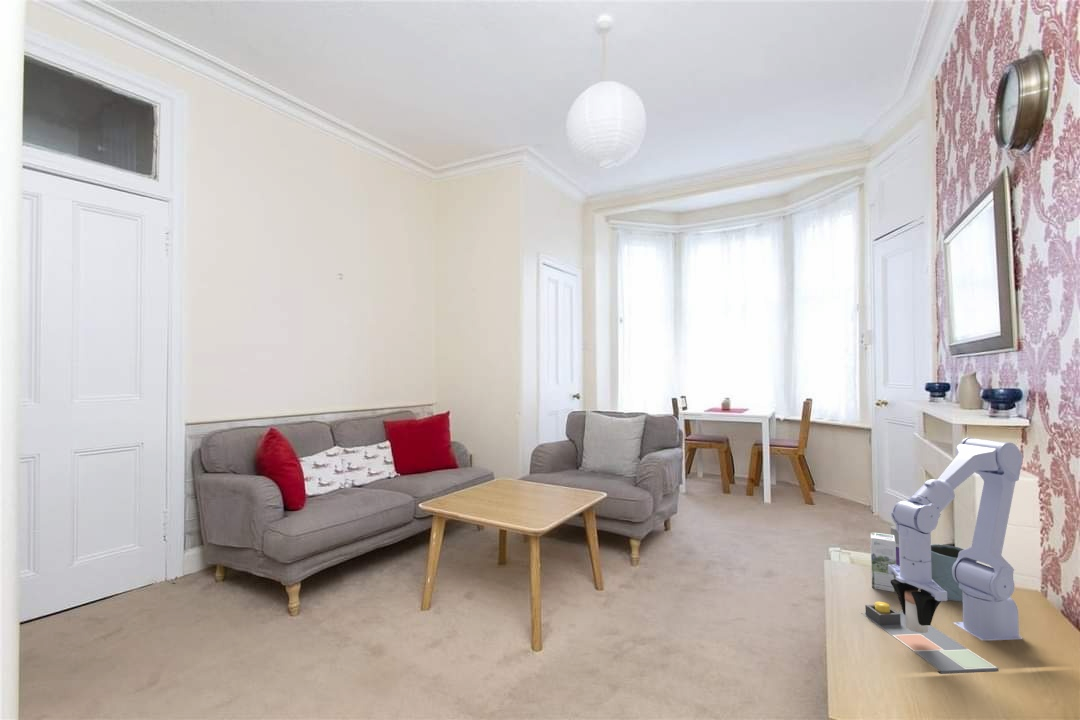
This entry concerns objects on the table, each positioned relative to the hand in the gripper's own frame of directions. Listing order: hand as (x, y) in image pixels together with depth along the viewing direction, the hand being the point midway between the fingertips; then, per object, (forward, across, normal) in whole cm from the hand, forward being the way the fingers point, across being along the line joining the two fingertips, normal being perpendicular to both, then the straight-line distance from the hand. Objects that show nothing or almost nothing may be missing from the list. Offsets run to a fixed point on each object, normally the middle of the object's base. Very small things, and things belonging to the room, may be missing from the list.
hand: (916, 619), depth 113 cm
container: (+6, -32, +21) cm, 38 cm away
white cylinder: (+2, 0, 0) cm, 2 cm away
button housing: (+5, -10, 0) cm, 12 cm away
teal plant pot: (+6, -22, +27) cm, 35 cm away
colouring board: (+6, -2, +3) cm, 7 cm away
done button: (+5, -10, 0) cm, 12 cm away
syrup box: (+6, -28, +13) cm, 31 cm away
